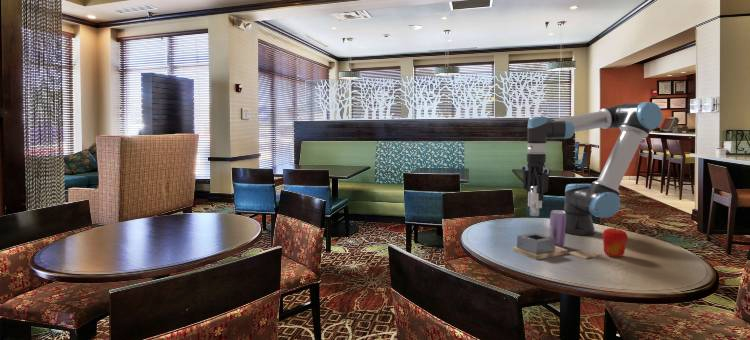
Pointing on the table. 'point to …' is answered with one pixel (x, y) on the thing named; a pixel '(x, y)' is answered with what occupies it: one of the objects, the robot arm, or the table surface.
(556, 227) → the beverage can
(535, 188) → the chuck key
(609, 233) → the apple
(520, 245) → the socket block
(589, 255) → the cork coaster
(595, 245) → the table surface
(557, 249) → the oak board
